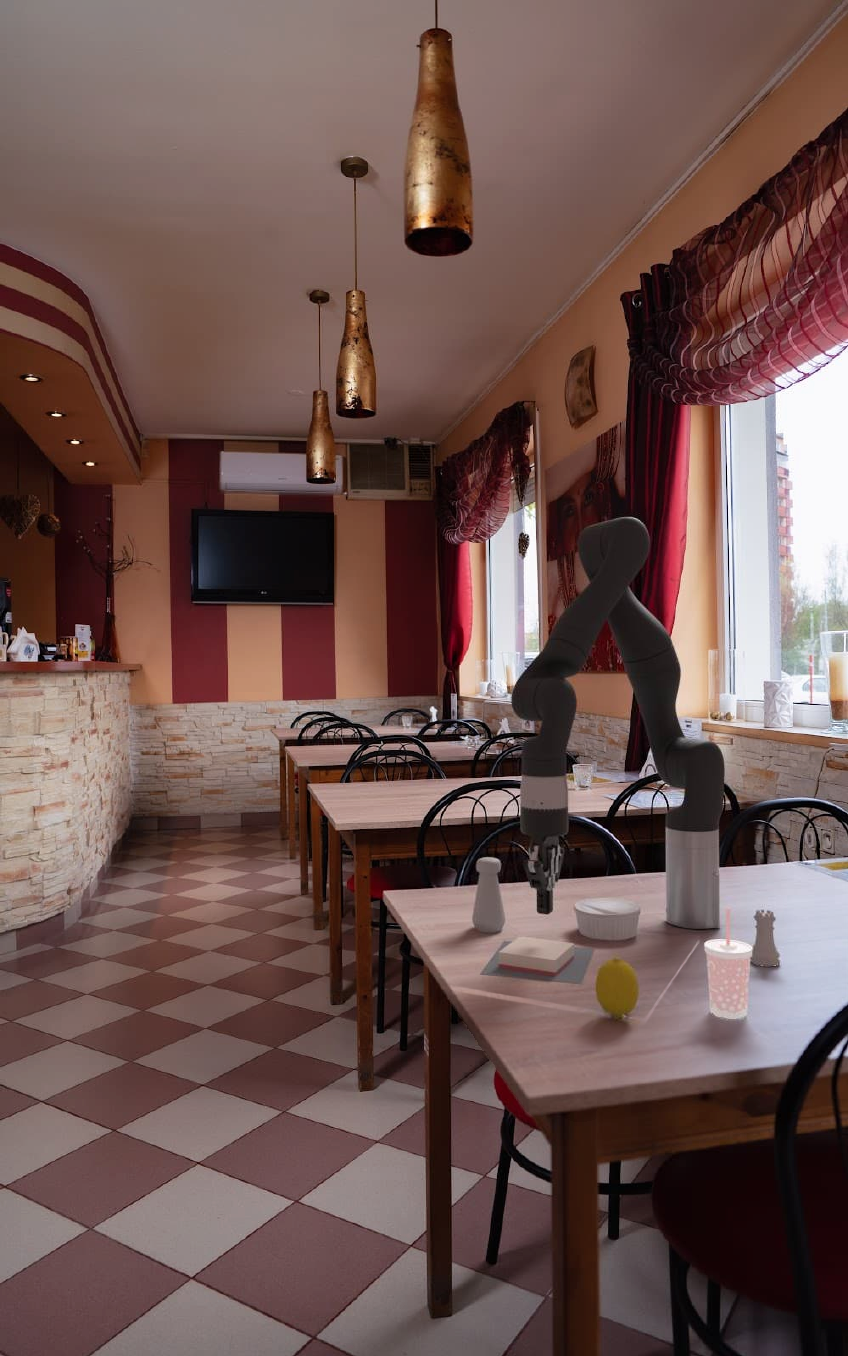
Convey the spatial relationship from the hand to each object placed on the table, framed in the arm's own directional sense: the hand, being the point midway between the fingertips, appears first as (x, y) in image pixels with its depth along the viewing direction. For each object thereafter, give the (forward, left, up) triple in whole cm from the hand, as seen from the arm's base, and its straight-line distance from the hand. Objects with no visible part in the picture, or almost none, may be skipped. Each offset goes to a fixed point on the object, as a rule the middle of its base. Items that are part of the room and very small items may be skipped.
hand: (544, 912), depth 141 cm
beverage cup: (-27, +15, -8) cm, 32 cm away
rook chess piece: (-33, -8, -8) cm, 35 cm away
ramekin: (-8, -16, -8) cm, 20 cm away
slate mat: (0, +2, -8) cm, 8 cm away
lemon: (-13, +21, -8) cm, 26 cm away
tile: (0, -1, -6) cm, 6 cm away
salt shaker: (+12, -12, -8) cm, 19 cm away
